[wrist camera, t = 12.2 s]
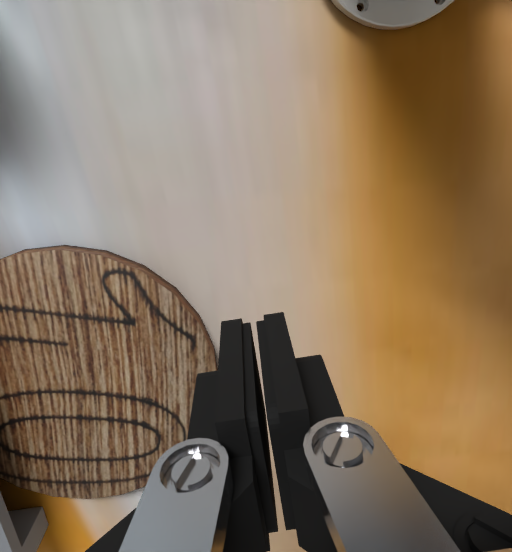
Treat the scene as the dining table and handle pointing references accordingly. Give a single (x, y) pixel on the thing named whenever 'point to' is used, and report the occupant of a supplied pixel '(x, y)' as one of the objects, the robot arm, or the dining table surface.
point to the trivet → (92, 370)
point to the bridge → (21, 528)
